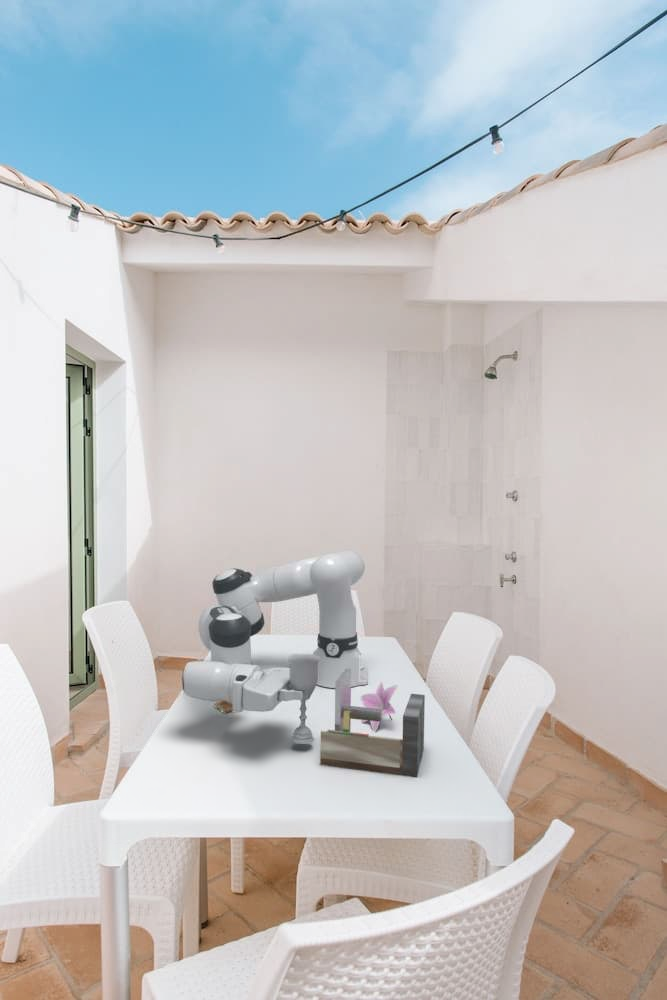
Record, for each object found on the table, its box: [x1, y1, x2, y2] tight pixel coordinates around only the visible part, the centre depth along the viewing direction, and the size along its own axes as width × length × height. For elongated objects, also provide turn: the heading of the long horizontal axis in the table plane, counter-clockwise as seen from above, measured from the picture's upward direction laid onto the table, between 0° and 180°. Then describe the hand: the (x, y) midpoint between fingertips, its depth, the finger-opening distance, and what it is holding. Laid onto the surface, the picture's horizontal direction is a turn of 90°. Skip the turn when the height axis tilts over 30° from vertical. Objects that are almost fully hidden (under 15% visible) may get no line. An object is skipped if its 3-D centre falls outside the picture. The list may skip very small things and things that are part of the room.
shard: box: [213, 701, 238, 713], centre depth 158 cm, size 11×8×2 cm
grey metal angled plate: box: [334, 668, 383, 731], centre depth 129 cm, size 11×9×15 cm
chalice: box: [287, 653, 320, 745], centre depth 133 cm, size 7×7×18 cm
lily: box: [360, 681, 398, 733], centre depth 148 cm, size 12×12×10 cm
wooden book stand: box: [319, 693, 426, 778], centre depth 129 cm, size 14×20×12 cm
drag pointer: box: [343, 711, 352, 732], centre depth 125 cm, size 1×1×9 cm
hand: (307, 690), depth 133 cm, fingers closed on chalice, 5 cm apart
